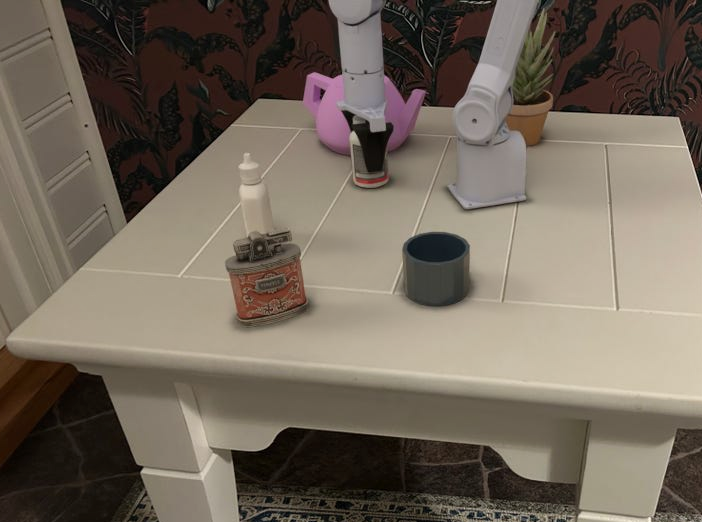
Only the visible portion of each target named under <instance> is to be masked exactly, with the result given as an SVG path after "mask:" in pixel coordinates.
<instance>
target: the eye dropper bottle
mask: <svg viewBox="0 0 702 522" xmlns="http://www.w3.org/2000/svg"><path fill="white" fill-rule="evenodd" d="M238 171H239V177H240V182H241V184H240V186H239V190H238V196H239V201H240V208H241V212H242V217H243V223H244V228H245V233H246V238H247V237H248V235H249V233H251V232H254V231H257V232H259V233H260V234H265V233H267V232H268V231H272V230H275V224H274V219H273V218H274V217H273V212H272V207H271V206H272V205H271V201H270V196H269V194H270V193H269V189H268V186H267V183H266V182H265V181H264V180H263V179H262V174H261V169H260V164H259V162H256V161H253V159H252V156H251V154H250V153H249V152H245V153H243V162H242V163H240V164H239V165H238Z"/></svg>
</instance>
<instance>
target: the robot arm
mask: <svg viewBox="0 0 702 522" xmlns="http://www.w3.org/2000/svg"><path fill="white" fill-rule="evenodd" d="M386 3H387V0H328V5H329V8H330V10H331V12H332V14H333V15H334V16H335V18H336V19H337V28H338V41H339V51H340V52H339V53H340V54H339V55H340V63H341V64H340V65H341V72H342V74H341V75H343V87H344V98H345V99H344V100H343V101H338V102H337V103H336V104H337V108H338V109H339V110H341V112H342V113H343V115H344V117H345V119H346V121H347V123H348V125H349V128H350V131H351V133H352V132H353V131H354V132H355V133H356V135H357V137H358V140H359V142H360V145H361V149H362V153H363V157H364V162H365V166H366V168H367V171H368V172H369V173H370V172H378V171H382V168H383V163H384V157H385V151H386V147H387V143H388V141H389V138H390V136H391V134H392V133H393V130H394V126H393V124H392V123H391V122H388V123H385V116H384V115H385V112H386V108H387V99H386V98H385V83H384V75H385V68H384V66H385V65H384V49H383V32H382V20H381V19H382V18H381V12H382V10H383V9H384V8H385V5H386ZM538 3H539V0H496V4H495V7H494V10H493V14H492V17H491V21H490V24H489V27H488V30H487V34H486V36H485V40H484V43H483V47H482V50H481V54H480V56H479V60H478V63H477V66H476V67H475V69H474V72H473V74H472V77H471V78H470V80H469V83H468V85H467V88H466V92H465V93H464V95H463V97H462V98H461V99H460V100H458V102H457V103H456V105H454V108H453V111H452V116H451V121H452V125H453V129H454V130H455V132H456V182H453V183H449V184H447V189H448V190H449V191H450V193H451V195H452V196H453V197H454V198H455V199H456V201H457V202H458V203H459V204H460V205H461V207H462V208H463V209H464V210H473V209H479V208H484V207H485V208H486V207H493V206H497V205H503V204H511V203H516V202H517V203H518V202H523V201H527V195H525V194H526V193H525V191H526V177H527V164H528V163H527V161H528V152H527V146H526V144H525V141H524V138H523V136H522V134H521V133H520V132H519V131H509V130H508V126H507V124H506V122H505V118H506V117H507V116H508V114H509V113H510V111H511V110H512V107H513V93H512V87H513V86H514V85H513V82H514V80H515V76H516V72H515V70H516V66H517V63H518V60H519V57H520V54H521V51H522V48H523V45H524V42H525V39H526V36H527V33H528V30H529V27H530V28H531V25H532V21H533V19H534V15H535V12H536V9H537V6H538ZM355 115H357V116H359V117H361V118H364V119H365V122H366V124H365V123H360V124H353V117H354V116H355Z"/></svg>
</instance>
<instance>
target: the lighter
mask: <svg viewBox="0 0 702 522" xmlns="http://www.w3.org/2000/svg"><path fill="white" fill-rule="evenodd" d="M292 241H293V236H292V231H291V229H290V228H288V227H282V228H277V229H274V230H272V231H268V232H267V233H265V234H260V233H259V232H257V231H254V232H251V233H249V235H248V237H247V236H246V237H244V238H239V239H235V240H233V241H232V247H233V251H234V253H235V255H232V256H230V257H228V258H226V259H225V261H224V266H225V270H226V272H227V273H228V275H229V281H230V286H231V291H232V294H233V295H232V296H233V298H234V303H235V307H236V311H237V312H236V320H237V324H238V325H239V326H241V327H243V328H252V327H258V326H263V325H264V326H265V325H268V324H272V323H277V322H280V321H283V320H286V319H289V318H292V317H296V316H298V315H301V314H302V313H305V312H307V311H308V309H309V306H310V305H309V300H308V297H306V290H305V284H304V277H303V270H302V269H303V268H302V261H301V257H302V251H301V247H300V246H299V245H298V244H297V243H291V242H292Z"/></svg>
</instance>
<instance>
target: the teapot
mask: <svg viewBox="0 0 702 522" xmlns="http://www.w3.org/2000/svg"><path fill="white" fill-rule="evenodd" d="M384 83H385V98H386V99H387V108H386V112H385V115H384V116H385V123H388V122H391V123H392V124H393V126H394V130H393V133H392V134H391V136H390V138H389V141H388V143H387V153H390V152H391V151H392V152H393V151H395V150H397V149H398V148H400V146H402V144H403V143H404V142H405V141H406V139H407V138H408V137H409V135H410V132H412V131H413V130H414V129H415V126H416V123H417V121H418V117H419V113H420V110H421V108H422V105H423V102H424V99H425V96H426V93H427V91H426V90H423V89H418V88H415V89H413V90H412V91H411V94H410V96H409V98H408V100H407V101H406V102H405V100H404V98H403V97H402V95H401V94H400V92H399V90H398V89H397V87H396V86H395V84H394V83H393V82H392V81H391V79H390V78H389V77H388V76H387V75H385V74H384ZM322 90H324V94H323V96H322V98H321V91H322ZM344 99H345V98H344V87H343V75H342V74H338V75H337V76H335V77H334V78H331V77H329V76H326V75H324V74H321V73H318V72H315V71H314V72H312V73H310V74H309V73H308V75H306V80H305V87H304V93H303V99H302V105H303V107H304V108H305V109H306V110H307V111H308V112H309V113H310V114H311V116H312V117H313V118H314V119H315V120H316V123H315V127H316V128H315V129H316V130H315V131H316V135H317V137H318V138H319V140H320V141H321V142H322V143H323V144H324V145H325V146H326V147H328V148H329V150H331V151H333V152H335V153H337V154H340V155H345V156H351V152H350V141H349V137H350V134H351V131H350V128H349V125H348V123H347V121H346V119H345V117H344V115H343V113H342V112H341V110H339V109H338V108H337V104H336V103H337V102H338V101H343V100H344Z"/></svg>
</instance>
